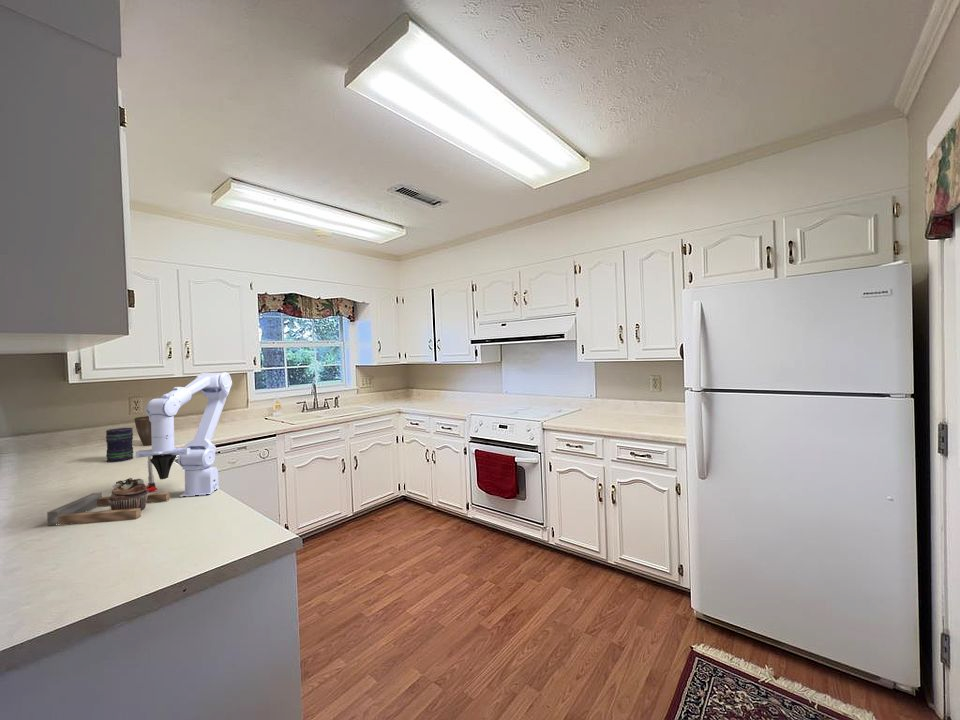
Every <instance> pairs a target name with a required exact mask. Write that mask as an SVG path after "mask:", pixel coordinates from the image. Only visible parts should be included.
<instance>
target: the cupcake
mask: <svg viewBox="0 0 960 720" xmlns="http://www.w3.org/2000/svg"><path fill="white" fill-rule="evenodd" d="M146 486H147V485H146V484H145V483H144V479H141V478H136V479H133V478H132V477H129V478H127V479H124V480H118V481H116V482H115V484H113V485H112V488H113V489H112V490H111V495H109V496H110V497H109V496H108V497H109V499H108V501H109V503H110V506H109V507H110V510H123V509H136V508H141V511H144V510H145V509H146V505H147V503H146V501H147V497H148V494H149V492H148V490H147V487H146Z"/></svg>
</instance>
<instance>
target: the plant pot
mask: <svg viewBox="0 0 960 720" xmlns="http://www.w3.org/2000/svg"><path fill="white" fill-rule="evenodd" d="M133 420H134V424H135V428H136V429H135V430H136V432H137V435H138V437H139V439H140V442H141V443H142V446H146V447H148V446H152V437H151V422H150V421H149V416H148V415H147V416H145V415H144V416H139V417H134V419H133Z"/></svg>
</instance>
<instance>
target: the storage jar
mask: <svg viewBox="0 0 960 720" xmlns="http://www.w3.org/2000/svg"><path fill="white" fill-rule="evenodd" d="M105 432H106V434H105V440H106V453H105V455H106V456H105V457H106V462H107V463H111V464H112V463H122V462H126V461H127V462H128V461H131V460H133V459H134V447H133V439H134V434H133V427H119V428H112V429H106V430H105Z"/></svg>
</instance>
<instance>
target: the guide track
mask: <svg viewBox="0 0 960 720" xmlns="http://www.w3.org/2000/svg"><path fill="white" fill-rule="evenodd" d="M170 494H171V493H170V491H168V492H155V493H153V492H152V493H148V497H147V501H146V504H151V502H154V503H162V502H161V501H166V502H168V501H169V499H170V500H171V498H170V497H171V496H170ZM110 496H111V495H109V496H103V493H102V492H92V493H90V494H88V495H85V496H83V497H81V498H78V499H75V500H73V501H71V502H68V503H66V504H64V505H61V506H59V507H56V508H54V509H52V510H49V511H47V513H46V515H47V526H48V525H55V526H59V525H58V524H68V525H72V524H71V523H80V524H88V523H87V522H92V523H103V522H104V521H105V522H115V521H127V520H137V519H139V518H140V517H141V515H142V514H141V512H142V510H141V508H136V509H123V510H111V509H110V510H100V511H91V509H92V510H93V508H94V509H95V508H98V507H99V508H100V507H110V503H109V501H108V499H109V497H110ZM167 500H168V501H167ZM86 511H87V512H86ZM56 524H57V525H56Z"/></svg>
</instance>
